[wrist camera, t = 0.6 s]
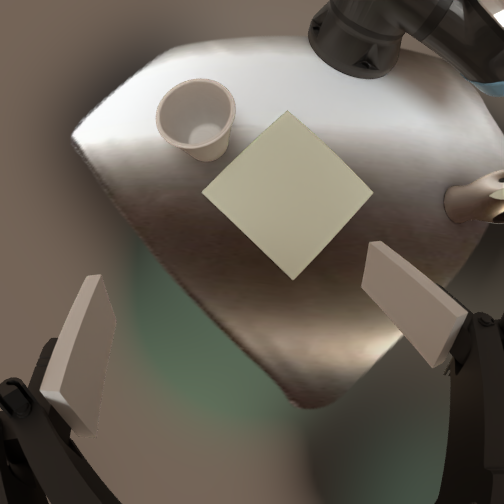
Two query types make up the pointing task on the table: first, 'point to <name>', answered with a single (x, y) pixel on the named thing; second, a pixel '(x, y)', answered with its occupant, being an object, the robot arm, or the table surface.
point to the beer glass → (477, 200)
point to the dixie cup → (197, 118)
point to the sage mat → (288, 193)
